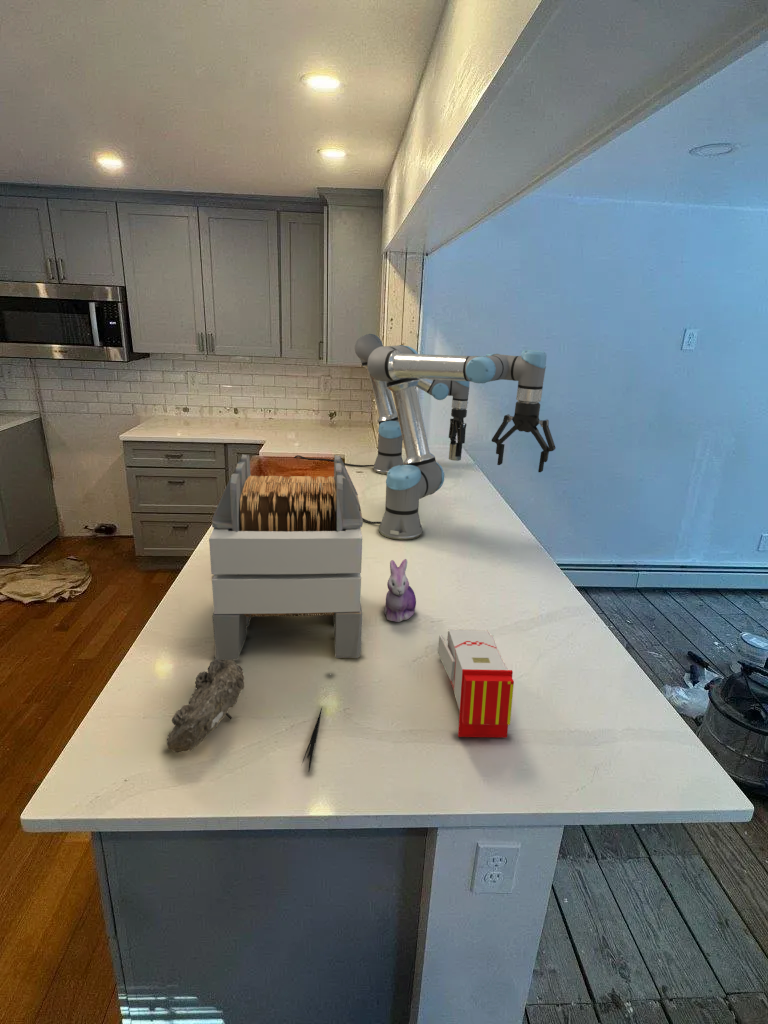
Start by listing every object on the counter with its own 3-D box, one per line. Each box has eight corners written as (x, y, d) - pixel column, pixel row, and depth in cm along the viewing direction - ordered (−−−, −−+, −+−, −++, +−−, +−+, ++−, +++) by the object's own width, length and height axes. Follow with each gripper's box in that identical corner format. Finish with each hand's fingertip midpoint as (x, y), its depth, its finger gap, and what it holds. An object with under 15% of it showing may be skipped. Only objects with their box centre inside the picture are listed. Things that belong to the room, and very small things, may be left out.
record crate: (234, 590, 156) (226, 444, 142) (353, 588, 159) (357, 447, 146) (212, 662, 124) (200, 485, 110) (361, 659, 128) (367, 486, 114)
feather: (331, 679, 122) (336, 673, 122) (307, 777, 96) (313, 769, 95) (324, 675, 122) (329, 669, 121) (298, 772, 95) (304, 764, 95)
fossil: (192, 660, 117) (244, 628, 112) (224, 691, 120) (276, 661, 115) (142, 746, 98) (202, 712, 93) (182, 779, 101) (242, 748, 96)
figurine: (392, 627, 141) (395, 572, 136) (374, 608, 149) (376, 556, 144) (425, 619, 145) (429, 566, 140) (405, 601, 154) (408, 550, 149)
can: (463, 460, 284) (464, 444, 281) (452, 461, 281) (454, 445, 279) (456, 457, 289) (458, 442, 286) (446, 458, 287) (447, 442, 284)
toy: (488, 613, 130) (523, 677, 101) (484, 667, 133) (517, 744, 104) (435, 612, 130) (455, 676, 101) (432, 666, 133) (451, 743, 103)
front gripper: (571, 405, 174) (561, 472, 181) (494, 396, 185) (487, 459, 193) (565, 408, 168) (555, 477, 175) (486, 398, 179) (479, 463, 186)
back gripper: (475, 412, 269) (470, 459, 277) (457, 405, 286) (453, 449, 294) (461, 412, 267) (456, 459, 275) (444, 405, 284) (440, 450, 292)
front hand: (519, 467), depth 184 cm, fingers open, 13 cm apart
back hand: (455, 454), depth 284 cm, fingers closed on can, 6 cm apart
